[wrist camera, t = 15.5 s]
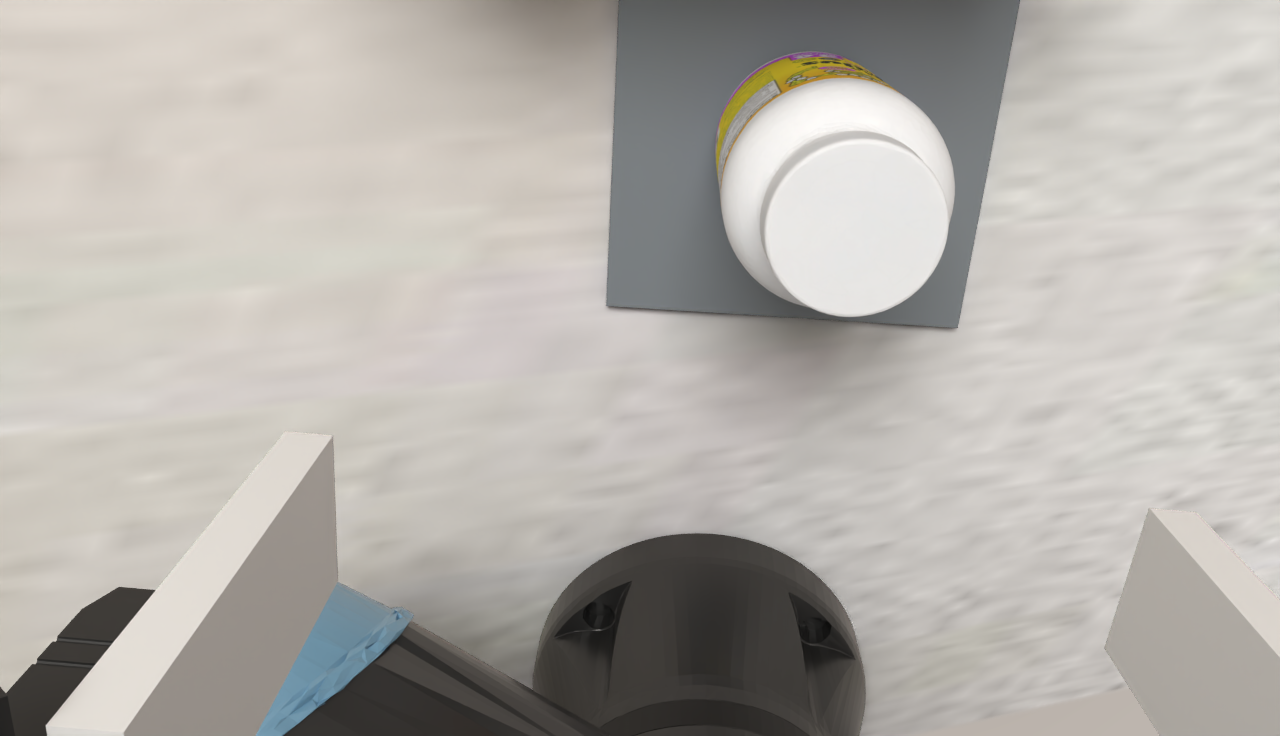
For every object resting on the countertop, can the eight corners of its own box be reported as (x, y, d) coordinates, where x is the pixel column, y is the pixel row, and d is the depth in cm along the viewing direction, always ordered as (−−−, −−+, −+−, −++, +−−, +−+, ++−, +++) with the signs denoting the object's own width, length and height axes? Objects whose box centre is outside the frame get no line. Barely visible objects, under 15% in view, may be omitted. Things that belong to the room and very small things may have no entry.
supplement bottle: (932, 121, 37) (1049, 207, 25) (815, 261, 39) (872, 400, 27) (789, 8, 35) (841, 41, 24) (677, 159, 38) (674, 259, 26)
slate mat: (955, 324, 40) (957, 327, 40) (607, 302, 40) (606, 305, 40) (1026, -54, 35) (1030, -54, 34) (622, -77, 35) (622, -77, 35)
